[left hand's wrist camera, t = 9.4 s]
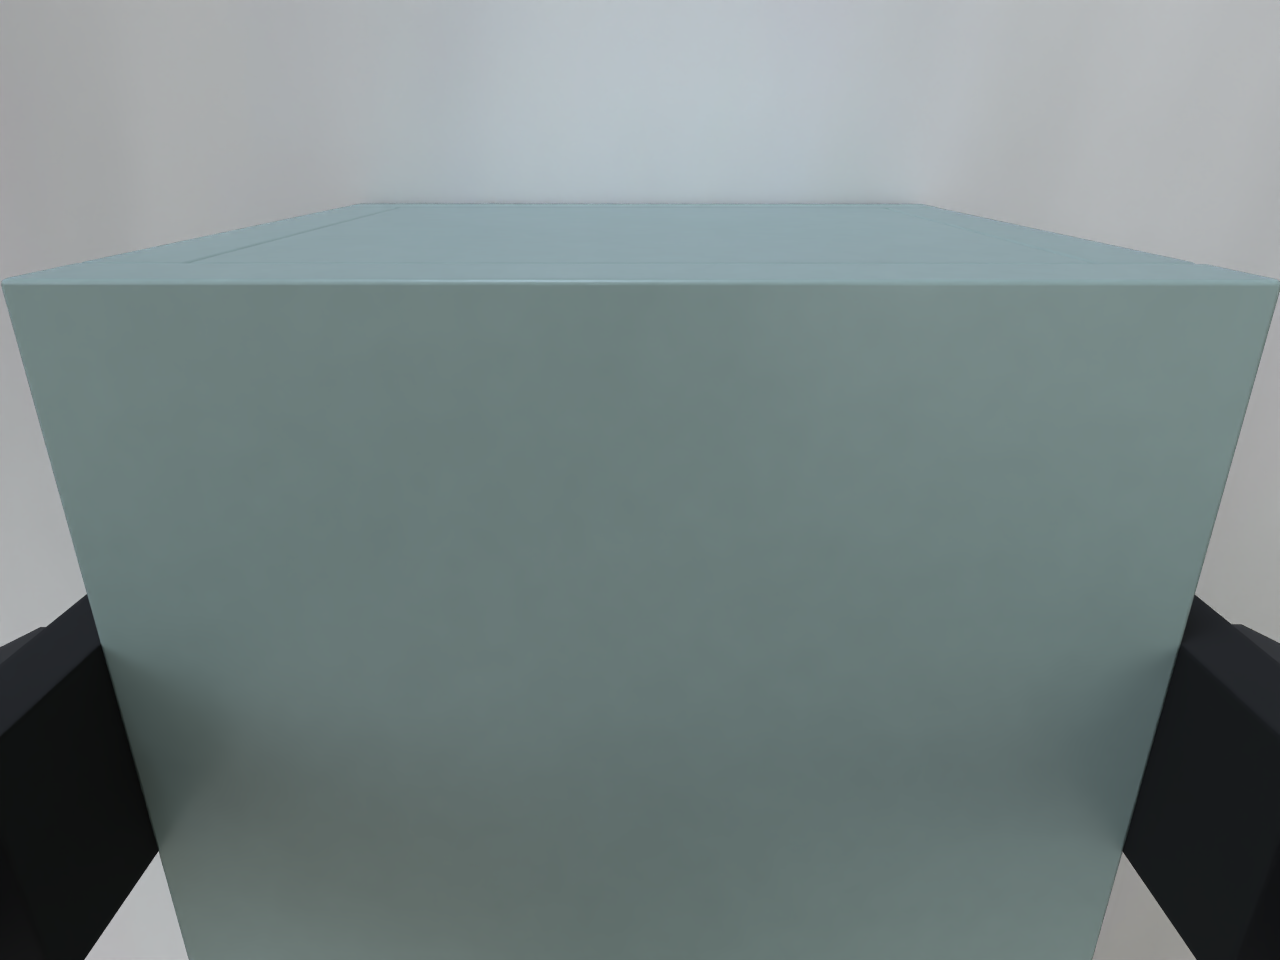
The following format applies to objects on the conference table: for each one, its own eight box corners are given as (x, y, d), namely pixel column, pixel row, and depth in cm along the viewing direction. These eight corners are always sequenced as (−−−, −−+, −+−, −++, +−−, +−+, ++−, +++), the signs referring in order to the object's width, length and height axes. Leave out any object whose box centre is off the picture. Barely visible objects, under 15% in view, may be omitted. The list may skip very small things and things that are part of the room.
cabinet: (828, 990, 24) (941, 1499, 15) (451, 990, 24) (337, 1499, 15) (923, 203, 16) (1285, 279, 7) (358, 203, 16) (-3, 279, 7)
